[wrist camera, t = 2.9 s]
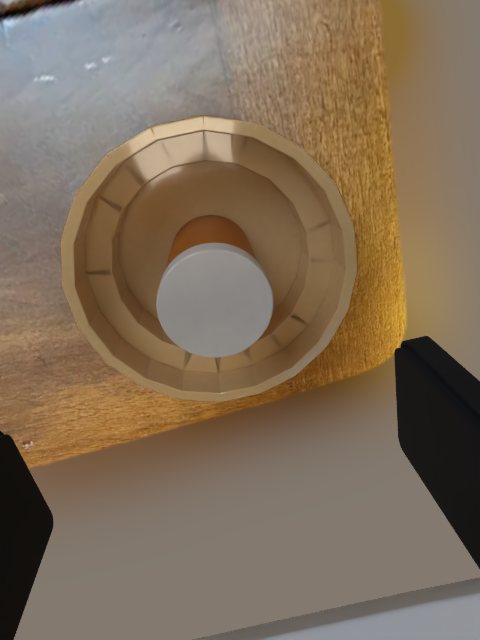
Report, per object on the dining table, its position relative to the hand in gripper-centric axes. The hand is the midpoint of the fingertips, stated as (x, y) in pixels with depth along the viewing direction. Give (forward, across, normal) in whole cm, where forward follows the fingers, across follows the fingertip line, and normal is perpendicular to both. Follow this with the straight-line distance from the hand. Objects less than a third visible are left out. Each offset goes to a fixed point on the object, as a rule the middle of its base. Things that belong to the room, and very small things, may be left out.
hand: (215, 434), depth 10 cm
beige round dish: (+16, 0, 0) cm, 17 cm away
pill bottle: (+16, 0, 0) cm, 16 cm away
